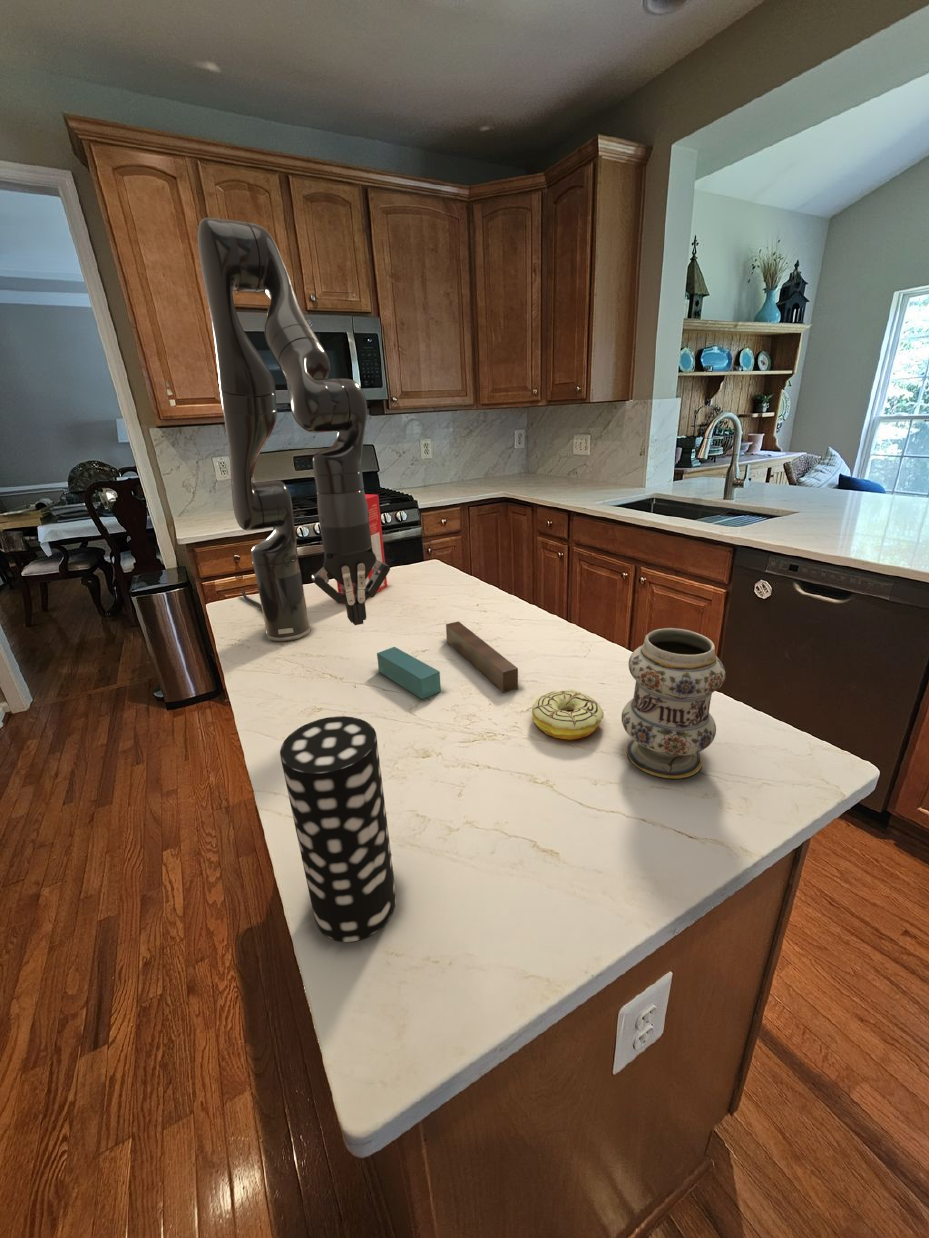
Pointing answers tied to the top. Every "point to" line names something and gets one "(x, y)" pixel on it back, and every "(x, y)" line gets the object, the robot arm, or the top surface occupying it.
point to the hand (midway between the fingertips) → (357, 623)
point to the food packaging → (373, 537)
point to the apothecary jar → (672, 702)
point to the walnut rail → (483, 657)
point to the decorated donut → (567, 714)
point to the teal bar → (409, 672)
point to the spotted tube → (341, 825)
